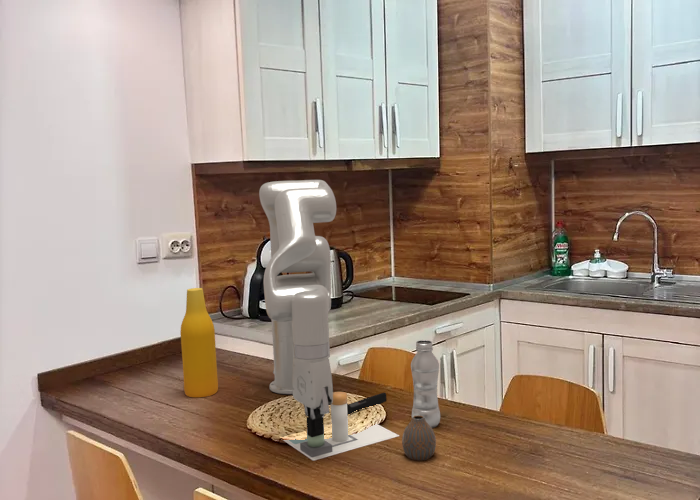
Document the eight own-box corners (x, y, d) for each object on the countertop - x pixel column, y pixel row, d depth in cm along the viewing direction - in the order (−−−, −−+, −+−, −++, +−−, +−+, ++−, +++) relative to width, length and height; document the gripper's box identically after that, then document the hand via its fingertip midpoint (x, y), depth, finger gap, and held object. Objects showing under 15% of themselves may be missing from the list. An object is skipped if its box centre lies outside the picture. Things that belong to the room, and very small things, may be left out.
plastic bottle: (423, 419, 168) (421, 337, 165) (446, 426, 163) (444, 341, 160) (406, 427, 163) (403, 342, 161) (428, 434, 158) (426, 347, 156)
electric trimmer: (390, 405, 180) (390, 393, 180) (346, 420, 170) (345, 407, 170) (380, 402, 183) (380, 390, 182) (336, 416, 173) (335, 404, 172)
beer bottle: (216, 385, 201) (209, 285, 197) (220, 395, 192) (214, 290, 188) (182, 390, 198) (176, 288, 194) (186, 400, 189) (178, 293, 186)
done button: (304, 443, 150) (304, 434, 150) (319, 439, 152) (318, 430, 152) (312, 448, 147) (312, 439, 147) (327, 444, 149) (327, 435, 149)
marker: (328, 438, 157) (326, 393, 155) (343, 434, 159) (341, 390, 157) (337, 443, 153) (335, 398, 152) (351, 439, 155) (350, 394, 154)
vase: (402, 451, 149) (400, 411, 148) (434, 451, 149) (433, 410, 148) (403, 465, 142) (402, 423, 141) (437, 464, 142) (436, 422, 141)
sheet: (278, 439, 159) (278, 436, 159) (360, 418, 170) (360, 415, 170) (313, 463, 145) (313, 460, 145) (399, 438, 157) (399, 435, 156)
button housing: (300, 449, 151) (300, 443, 151) (320, 444, 153) (320, 437, 153) (311, 457, 147) (311, 450, 146) (332, 451, 149) (332, 444, 149)
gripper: (279, 346, 152) (283, 428, 154) (313, 361, 139) (317, 450, 141) (310, 340, 156) (314, 421, 158) (345, 354, 143) (349, 441, 145)
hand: (315, 434), depth 149 cm, fingers closed
